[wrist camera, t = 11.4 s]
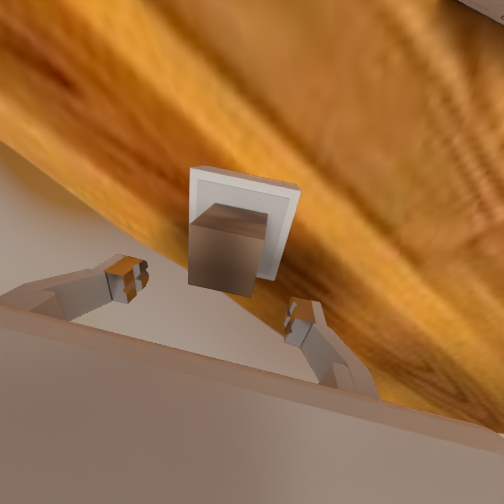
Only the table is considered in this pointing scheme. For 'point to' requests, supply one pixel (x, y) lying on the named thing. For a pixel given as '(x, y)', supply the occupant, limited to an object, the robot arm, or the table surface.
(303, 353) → the robot arm
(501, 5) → the supplement box
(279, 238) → the plinth
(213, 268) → the walnut block
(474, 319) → the table surface
